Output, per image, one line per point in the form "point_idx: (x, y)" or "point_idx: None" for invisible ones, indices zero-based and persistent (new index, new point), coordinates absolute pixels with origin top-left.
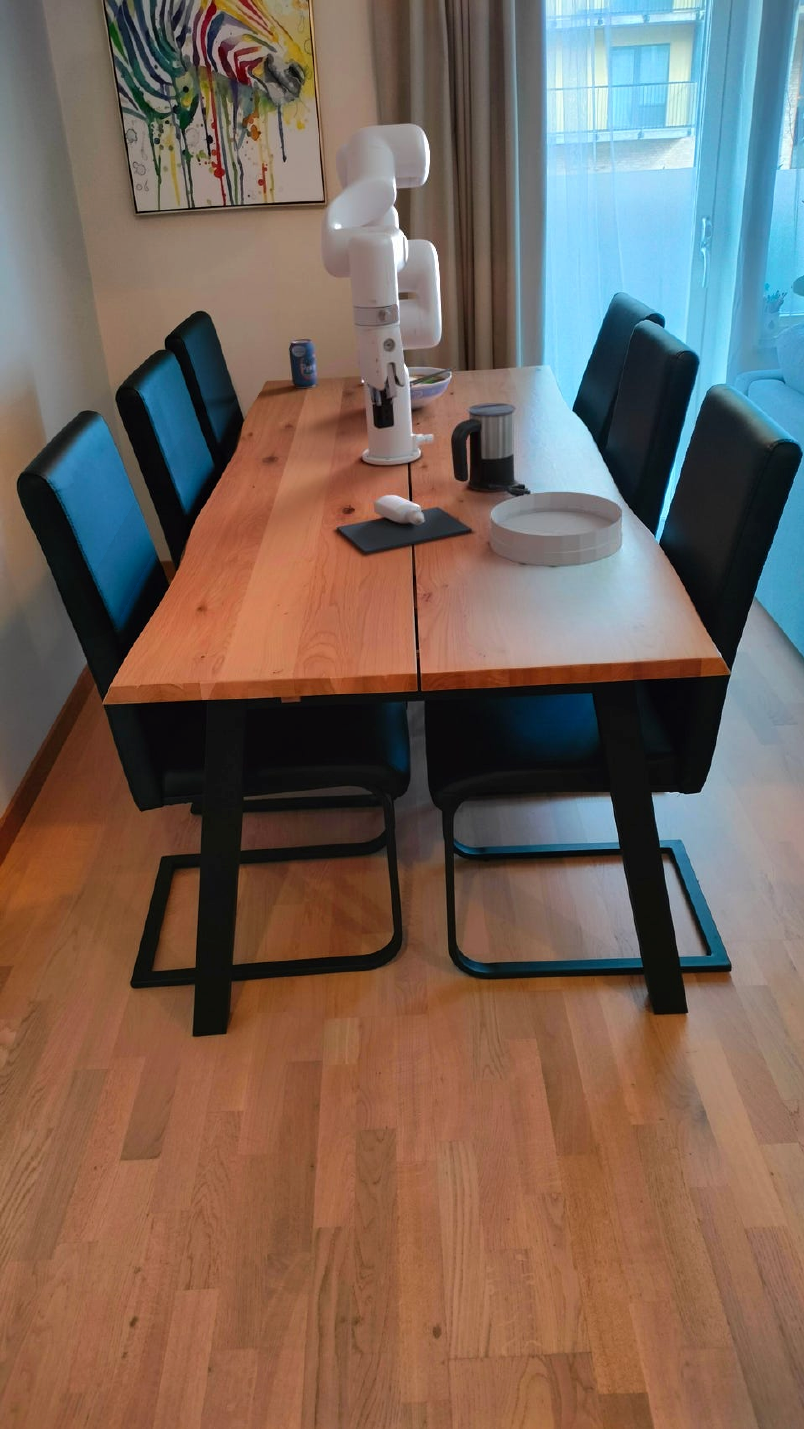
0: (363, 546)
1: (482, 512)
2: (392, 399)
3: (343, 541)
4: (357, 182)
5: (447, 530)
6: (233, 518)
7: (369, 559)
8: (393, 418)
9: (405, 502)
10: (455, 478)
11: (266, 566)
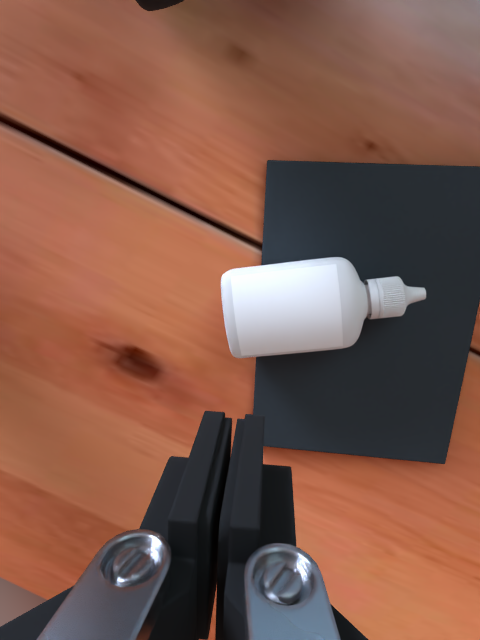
0: (413, 453)
1: (374, 45)
2: (326, 610)
3: (328, 458)
4: None
5: (466, 234)
6: (58, 562)
7: (473, 463)
8: (263, 441)
9: (323, 303)
10: (153, 10)
11: (357, 617)
